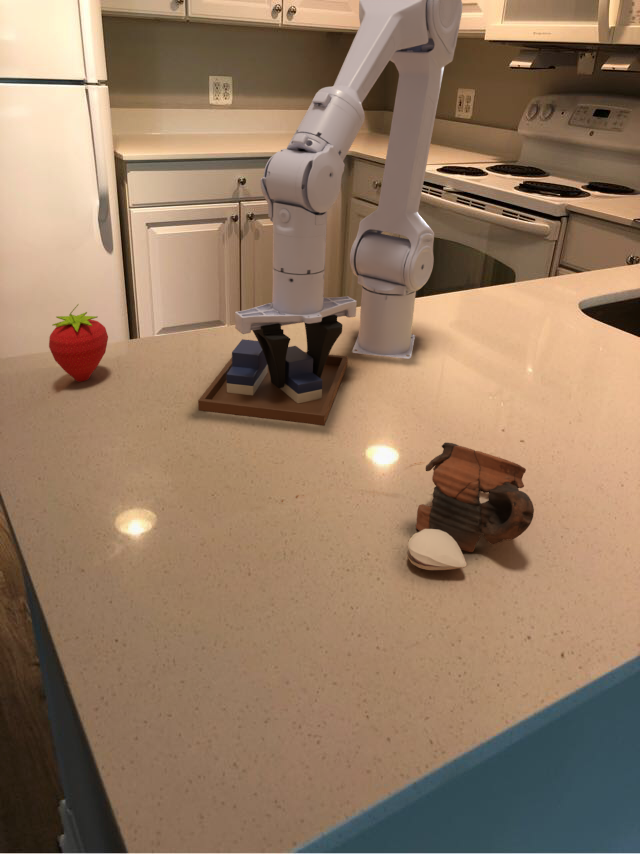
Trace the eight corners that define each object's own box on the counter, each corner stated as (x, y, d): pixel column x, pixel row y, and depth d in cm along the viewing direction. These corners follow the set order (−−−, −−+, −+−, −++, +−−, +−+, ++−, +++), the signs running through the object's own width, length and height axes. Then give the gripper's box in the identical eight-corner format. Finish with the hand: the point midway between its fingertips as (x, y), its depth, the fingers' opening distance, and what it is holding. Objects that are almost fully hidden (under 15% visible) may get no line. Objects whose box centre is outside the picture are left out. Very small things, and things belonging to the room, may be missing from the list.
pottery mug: (386, 518, 64) (414, 431, 63) (460, 536, 69) (486, 455, 68) (479, 564, 53) (513, 460, 53) (558, 581, 58) (589, 486, 58)
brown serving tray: (241, 357, 94) (241, 345, 93) (347, 369, 92) (347, 356, 91) (198, 414, 79) (197, 400, 78) (324, 430, 77) (324, 415, 76)
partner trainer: (243, 369, 89) (242, 338, 87) (267, 372, 88) (268, 340, 86) (226, 392, 83) (225, 359, 81) (253, 395, 82) (253, 362, 80)
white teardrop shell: (424, 540, 60) (428, 515, 59) (477, 565, 57) (481, 540, 56) (396, 564, 57) (399, 539, 56) (450, 592, 54) (454, 566, 53)
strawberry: (123, 375, 87) (116, 297, 83) (84, 399, 81) (73, 316, 76) (84, 367, 89) (74, 289, 84) (42, 389, 83) (29, 307, 78)
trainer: (270, 380, 86) (270, 348, 84) (293, 376, 88) (294, 344, 86) (297, 403, 81) (298, 370, 79) (321, 398, 82) (323, 365, 80)
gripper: (253, 284, 71) (254, 406, 77) (374, 270, 78) (365, 383, 84) (226, 267, 76) (228, 381, 83) (341, 254, 83) (335, 361, 89)
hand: (295, 381), depth 84 cm, fingers open, 4 cm apart
